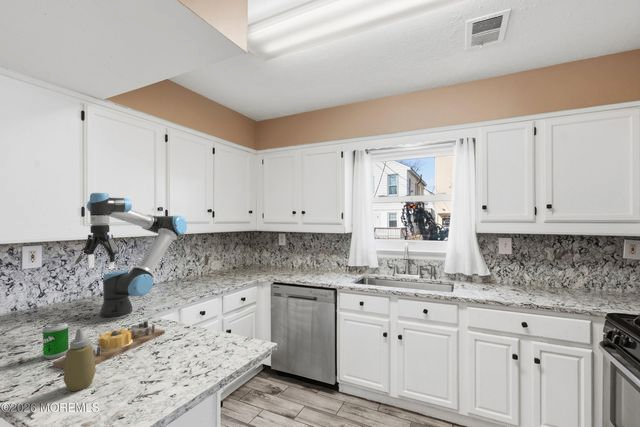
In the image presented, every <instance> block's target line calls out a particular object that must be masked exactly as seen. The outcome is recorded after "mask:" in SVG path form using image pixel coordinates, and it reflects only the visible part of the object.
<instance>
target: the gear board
mask: <svg viewBox="0 0 640 427" xmlns="http://www.w3.org/2000/svg"><path fill="white" fill-rule="evenodd" d="M127 330H131V336H132V340H131V343H129V344H126V345H124V346H122V347H120V348H113V349H109V350H105V349H102V348H101V346H99V344H98V343H94V344H93V343H92V344H91V343H89V345H92V348H93V355H94V362H95V366H96V365H98V364H101V363H103V362H105V361H107V360H110V359H112V358H114V357H117V356H118V355H120V354H123V353H125V352H127V351H129V350H132V349H133V348H136V347H138V346H140V345H143V344H145V343H146V342H149V341H152V340H154V339H156V338H158V337H161V336H162V334H163V335H165V334H166V330H164V329H160V328H159V329H158V328H156V325H155V323H154V324H153V322H149V321H148V320H145V321H143V322H141V323H139V324H133V325H131V327H128V328H127ZM112 331H113V330H112ZM164 333H165V334H164ZM117 335H119V332H118V331H115V330H114V331H113V332H112V334H111V336H117ZM160 335H161V336H160ZM65 361H66V356H64V357H62V358H60V359H57V360H54V361H53V362H52V365H53V367H56V368H59V369H64V370H65Z"/></svg>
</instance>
